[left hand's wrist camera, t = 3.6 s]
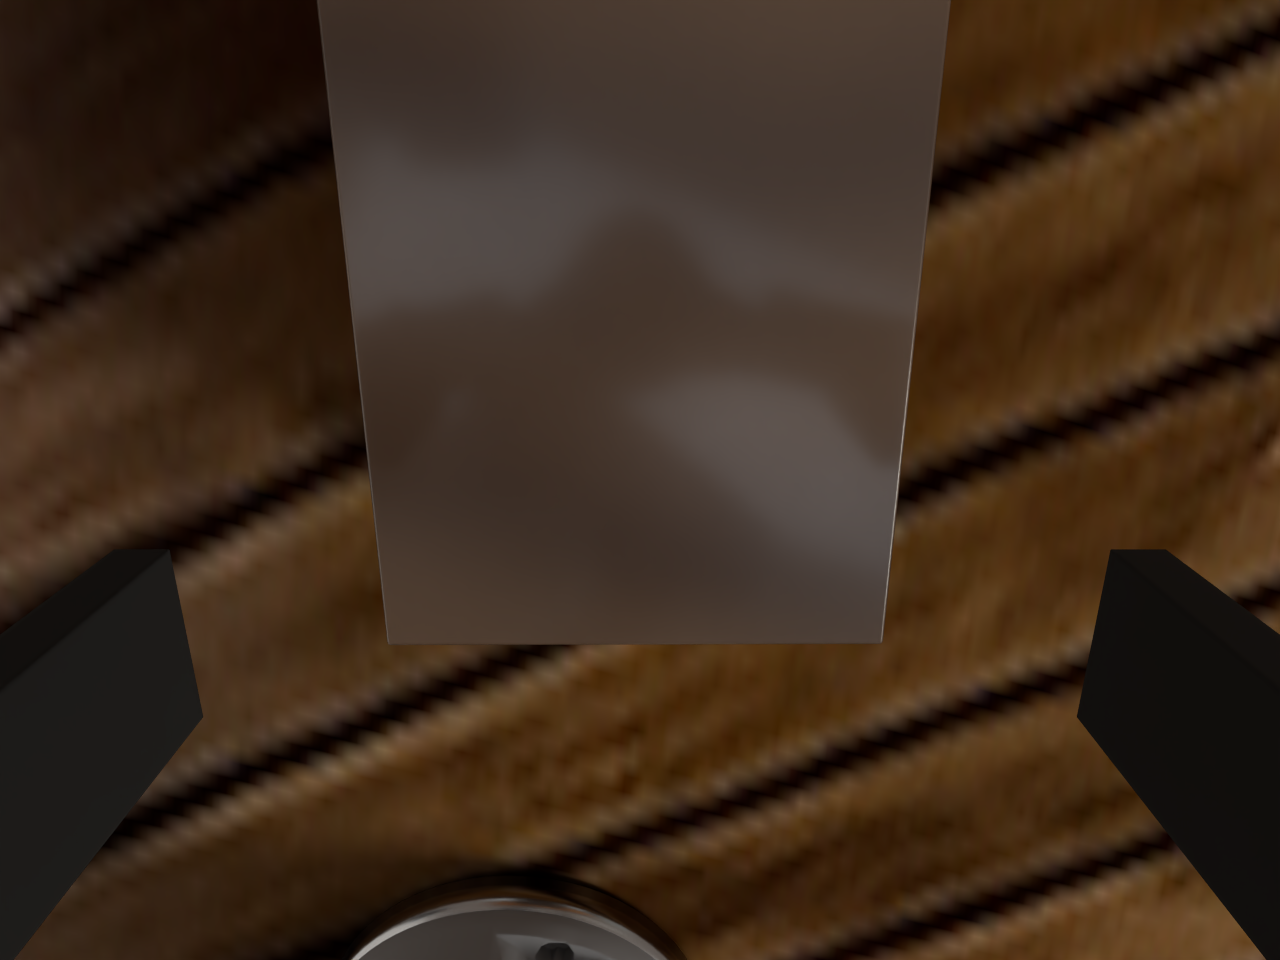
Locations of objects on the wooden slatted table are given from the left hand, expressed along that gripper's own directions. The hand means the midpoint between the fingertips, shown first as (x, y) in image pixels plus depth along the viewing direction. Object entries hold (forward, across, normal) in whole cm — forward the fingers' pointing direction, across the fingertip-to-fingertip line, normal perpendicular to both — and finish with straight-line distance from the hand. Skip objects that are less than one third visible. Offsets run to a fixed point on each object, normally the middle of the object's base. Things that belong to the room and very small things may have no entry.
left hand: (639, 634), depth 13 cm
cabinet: (+16, 0, -7) cm, 17 cm away
